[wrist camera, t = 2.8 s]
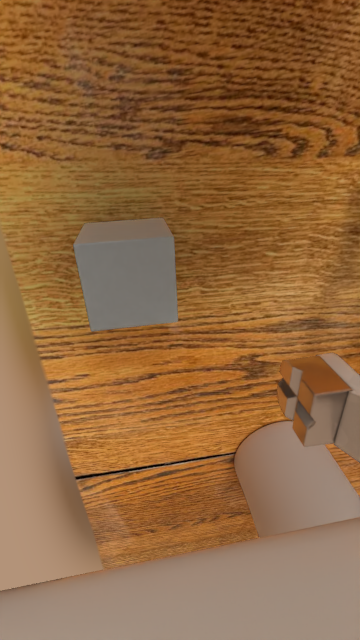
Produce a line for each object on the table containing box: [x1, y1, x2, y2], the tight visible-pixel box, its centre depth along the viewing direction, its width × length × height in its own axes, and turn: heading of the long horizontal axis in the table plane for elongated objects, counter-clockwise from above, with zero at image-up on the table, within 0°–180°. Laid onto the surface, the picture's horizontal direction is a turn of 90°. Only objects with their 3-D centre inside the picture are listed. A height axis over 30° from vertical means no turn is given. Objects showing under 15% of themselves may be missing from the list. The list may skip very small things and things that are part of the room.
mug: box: [234, 421, 360, 538], centre depth 26 cm, size 12×8×11 cm
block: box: [73, 218, 178, 331], centre depth 17 cm, size 4×4×4 cm
